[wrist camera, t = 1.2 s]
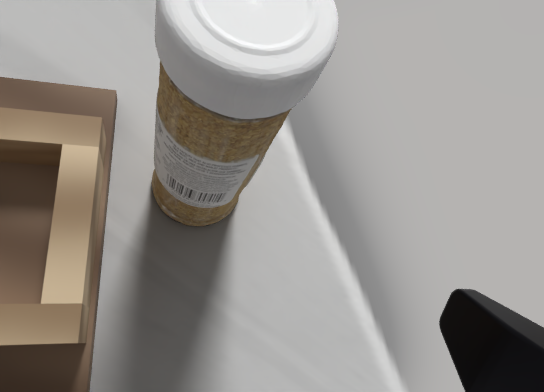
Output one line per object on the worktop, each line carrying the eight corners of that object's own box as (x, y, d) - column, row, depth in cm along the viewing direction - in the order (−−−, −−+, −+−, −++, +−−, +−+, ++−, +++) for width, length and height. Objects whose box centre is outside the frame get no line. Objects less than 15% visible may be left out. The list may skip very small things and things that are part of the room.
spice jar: (254, 178, 24) (373, -3, 11) (207, 246, 22) (288, 118, 9) (184, 130, 23) (227, -108, 11) (130, 194, 21) (112, -5, 9)
